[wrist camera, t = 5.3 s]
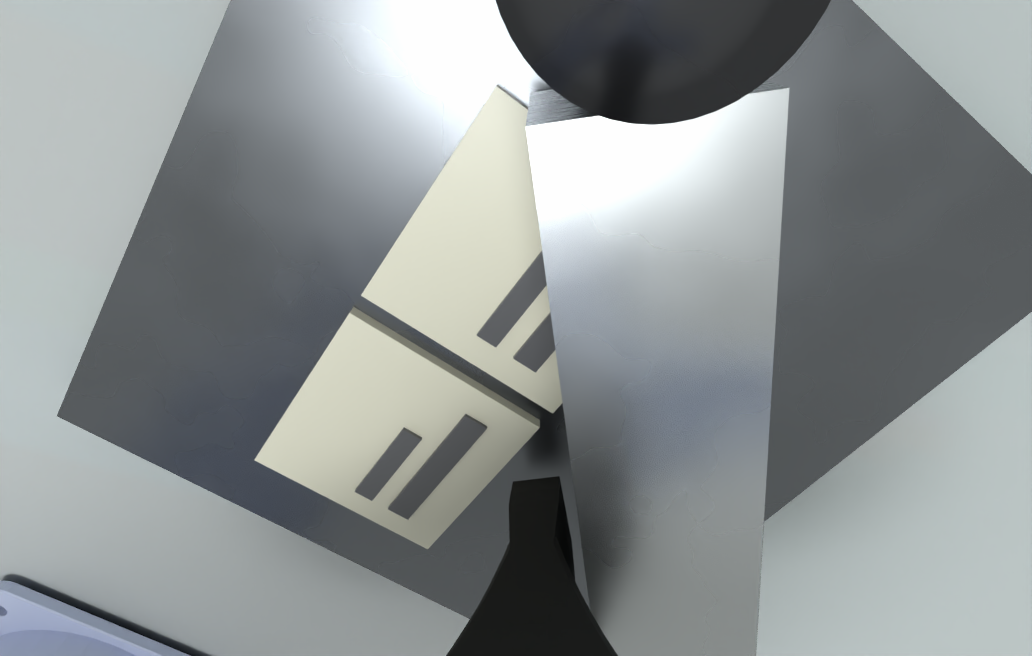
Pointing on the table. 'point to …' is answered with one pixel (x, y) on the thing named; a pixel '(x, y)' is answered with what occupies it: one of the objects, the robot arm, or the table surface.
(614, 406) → the bar
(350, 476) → the label
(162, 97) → the table surface
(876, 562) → the table surface
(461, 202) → the label
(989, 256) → the lid
